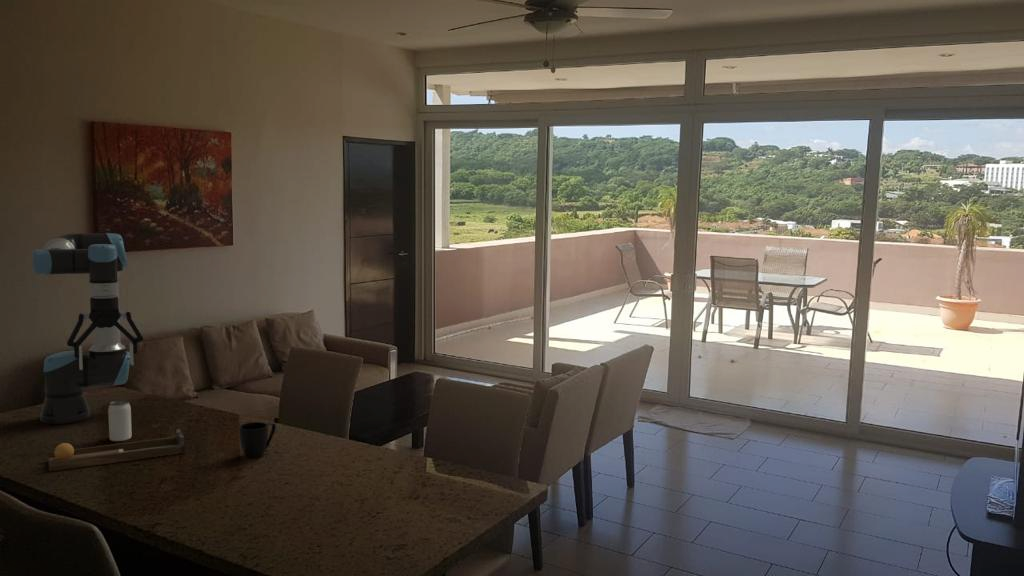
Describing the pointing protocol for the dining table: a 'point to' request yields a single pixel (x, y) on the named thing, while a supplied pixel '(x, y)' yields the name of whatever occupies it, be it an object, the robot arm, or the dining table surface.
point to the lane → (119, 452)
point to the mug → (255, 438)
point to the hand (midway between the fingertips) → (106, 366)
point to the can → (119, 421)
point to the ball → (64, 451)
